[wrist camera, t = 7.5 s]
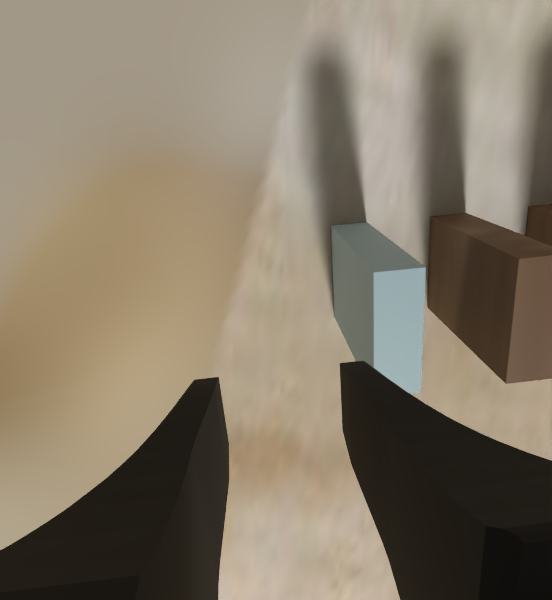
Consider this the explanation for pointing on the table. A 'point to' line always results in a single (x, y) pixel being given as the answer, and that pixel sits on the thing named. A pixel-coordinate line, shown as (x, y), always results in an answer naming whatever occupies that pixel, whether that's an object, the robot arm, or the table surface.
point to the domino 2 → (540, 223)
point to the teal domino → (379, 302)
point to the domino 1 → (493, 294)
